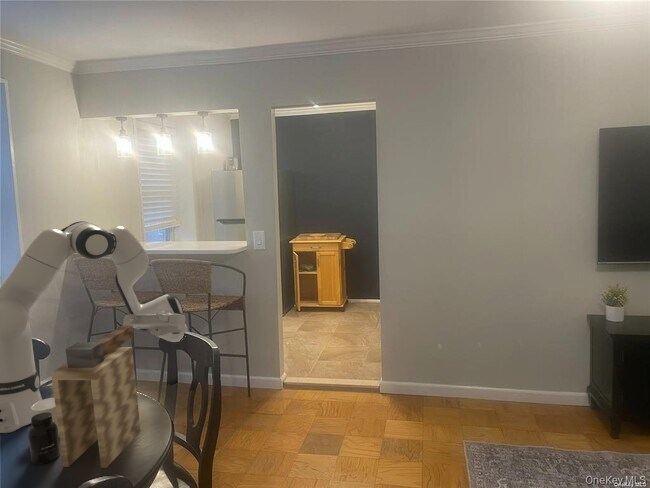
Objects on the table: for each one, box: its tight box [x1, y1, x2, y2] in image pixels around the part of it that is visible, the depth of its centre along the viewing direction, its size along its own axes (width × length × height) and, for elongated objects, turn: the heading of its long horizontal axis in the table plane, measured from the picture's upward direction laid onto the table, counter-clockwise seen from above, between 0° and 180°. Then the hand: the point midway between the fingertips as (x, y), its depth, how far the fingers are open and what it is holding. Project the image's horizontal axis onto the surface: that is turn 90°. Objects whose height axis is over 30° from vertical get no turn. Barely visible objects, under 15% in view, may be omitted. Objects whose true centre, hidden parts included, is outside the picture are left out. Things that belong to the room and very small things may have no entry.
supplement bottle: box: [27, 412, 61, 465], centre depth 127 cm, size 7×7×12 cm
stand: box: [50, 346, 142, 469], centre depth 129 cm, size 18×12×26 cm, turn 174°
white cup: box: [31, 397, 59, 436], centre depth 138 cm, size 8×8×10 cm
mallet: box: [65, 324, 135, 368], centre depth 133 cm, size 24×7×5 cm, turn 174°
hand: (144, 316), depth 157 cm, fingers open, 8 cm apart
